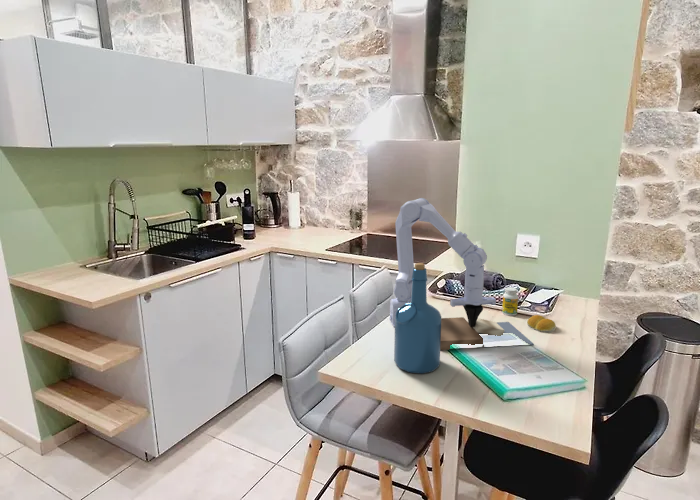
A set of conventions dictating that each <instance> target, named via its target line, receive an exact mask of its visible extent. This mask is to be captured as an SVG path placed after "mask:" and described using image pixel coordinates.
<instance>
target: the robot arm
mask: <svg viewBox="0 0 700 500" xmlns="http://www.w3.org/2000/svg"><path fill="white" fill-rule="evenodd" d="M399 208H400V209H399V213H398V215H397V218H396V220H395V223H394V224H395V225H394V226H395V235H396V236H395V237H396V250H397V251H396V252H397V267H398V273H397V276H396V279H395V285H394V288H393V295H394V297H395V298H391V299H390V300H389V321H390V323H391V324H392V327H394V328H395V316H396V312H397V310H398V309H399V308H400V307H401V306H403V305H405V304H407V303H410V302H411V293H412V280H411V279H412V273H413V268H415V263H414V251H413V250H414V249H413V248H414V247H413V234H412V232H413V231H412V227H413V225H414V224H416V223H417V222H418V221H419V222H427V223H430V224H431V225H432V226H433V227H434V228H436V230H438V231H439V232H440V233H441V234H442V235H443V236H445V238H446V239H447V244H448V246H449V247H450V248H451V249H452V250H453V251H454V252H455V253H456V254H457V255H458V256H459V257H460V258H461V259H463V260H462V261H463V264H464V266H465V275H464V276H465V277H464V291H463V292H464V294H463V295H464V296H463V297H458V298H450V302H449V303H450V304H449V305H450V306H451V307H460V306H461V307H463V308H464V311H465V314H466V317H467V322H468V323H469V326H470V327H475V324H476V321H477V318H479V316H480V314H481V313H482V312H483V310H484V307H483V306H484V305H492V306H496V303H497V302H496V301H497V299H496V298H495V297H494V296H492V297H489V296H483V295H484V294H483V293H484V282H485V281H484V279H485V263H486V261H487V259H488V256H487V253H486V251H485V250H484V248H482V247H479V246H478V245H477V244H474V242H472V241H471V240H470V239H469V238H468V234H467V233H466V232H464V233H463V232H462V231H456V230H455V229H454V228H453V227H452V225H450V224H449V222H448V221H447V220H446V219H445V218H444V217H443V216H442V215H441V214H440V212H438V210H437V209H436V207H435V206H434V205H433V204H432V203H430V202H429V201H428V199H427V198H424V197H419V198H417V199H413V200H407V201H406V202H405V203H404V204H402V205H401V206H400V207H399Z"/></svg>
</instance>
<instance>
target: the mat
mask: <svg viewBox="0 0 700 500" xmlns="http://www.w3.org/2000/svg"><path fill="white" fill-rule="evenodd" d="M495 322H496V321H495ZM496 323H497V324H498V325H499V326H500V327H502V328H503V329H504V333H513V334H515V335H516V336H518V337H519V338H520V339H522V340H523V341H525V342H526V343H528V344H530V345H529V346H534V344H535V343H534V342H532V340H530V339H529V338H528V337H527V336H525V335H524V334H523V333H522V332H521V331H519V330H518V328H516V327H515V326H514V325H513V324H512V323H510V322H509V321H499V322H496ZM477 333H478V332H477ZM478 334H483V333H478Z"/></svg>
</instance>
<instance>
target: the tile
mask: <svg viewBox="0 0 700 500" xmlns="http://www.w3.org/2000/svg"><path fill="white" fill-rule="evenodd" d="M473 328H474V329H475V330H476V331H477V332H478V333H483V334H488V335H495V336H496V335H497V336H501V335H503V333H504V329H503V328H502V327H500V326H499V325H498V324H497V323H496V321H493V320H487V319H484V318H483V319H482V318H479V317H478V318H477V321H476V324H475V327H473Z"/></svg>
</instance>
